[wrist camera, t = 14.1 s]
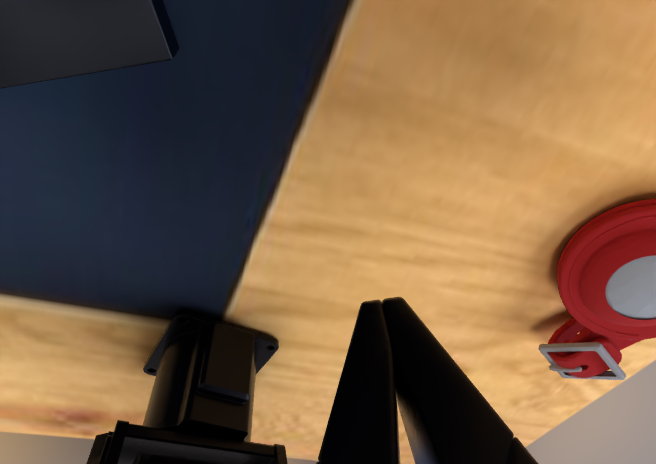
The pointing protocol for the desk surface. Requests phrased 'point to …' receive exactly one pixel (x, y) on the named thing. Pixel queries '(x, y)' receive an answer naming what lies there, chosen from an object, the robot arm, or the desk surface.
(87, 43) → the latch bracket
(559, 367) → the tracker holder
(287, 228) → the desk surface
